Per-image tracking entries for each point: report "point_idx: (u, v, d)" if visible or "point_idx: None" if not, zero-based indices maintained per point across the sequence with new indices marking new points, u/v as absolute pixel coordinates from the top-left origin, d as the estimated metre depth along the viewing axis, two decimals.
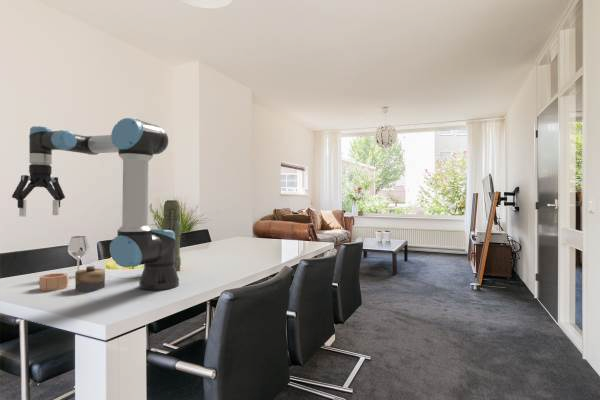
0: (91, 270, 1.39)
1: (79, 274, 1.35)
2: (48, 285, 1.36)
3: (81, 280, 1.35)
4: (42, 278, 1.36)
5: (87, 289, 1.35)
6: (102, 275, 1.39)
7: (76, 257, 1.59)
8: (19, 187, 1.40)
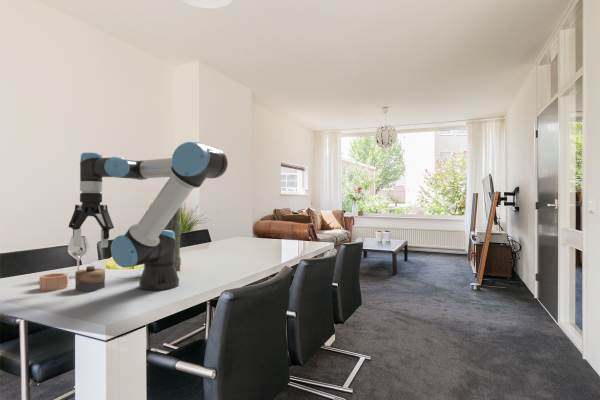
0: (91, 270, 1.39)
1: (79, 274, 1.35)
2: (48, 285, 1.36)
3: (81, 280, 1.35)
4: (42, 278, 1.36)
5: (87, 289, 1.35)
6: (102, 275, 1.39)
7: (76, 257, 1.59)
8: None
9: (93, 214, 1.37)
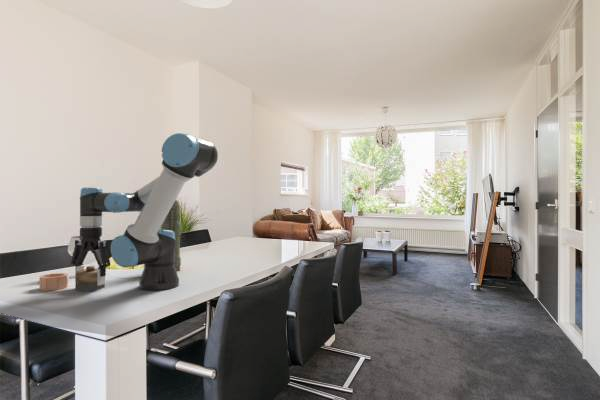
0: (91, 270, 1.39)
1: (79, 274, 1.35)
2: (48, 285, 1.36)
3: (81, 280, 1.35)
4: (42, 278, 1.36)
5: (87, 289, 1.35)
6: None
7: None
8: None
9: (92, 250, 1.37)
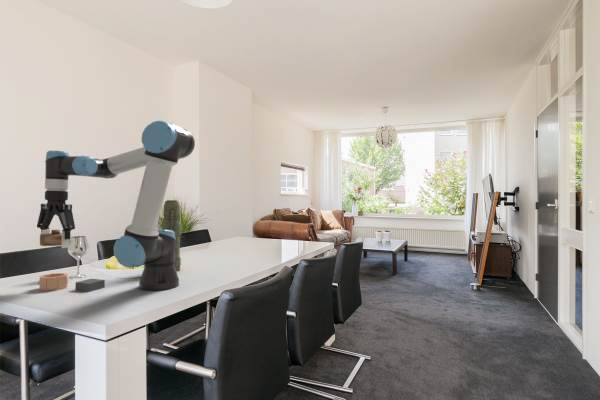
0: (56, 233, 1.39)
1: (43, 236, 1.35)
2: (48, 285, 1.36)
3: (45, 242, 1.35)
4: (42, 278, 1.36)
5: (87, 289, 1.35)
6: None
7: (76, 257, 1.59)
8: None
9: (57, 213, 1.38)
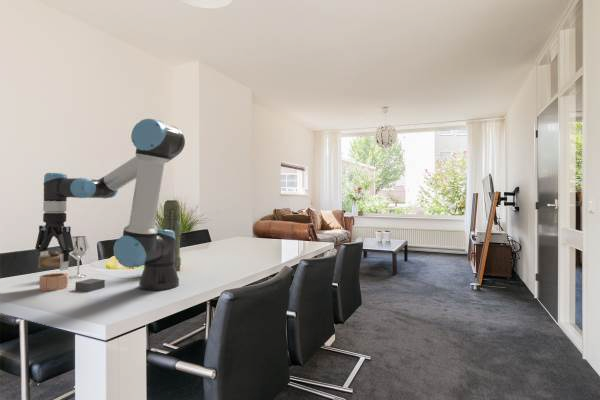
0: (54, 255, 1.39)
1: (42, 259, 1.35)
2: (48, 285, 1.36)
3: (44, 265, 1.35)
4: (42, 278, 1.36)
5: (87, 289, 1.35)
6: None
7: (76, 257, 1.59)
8: None
9: (55, 235, 1.38)
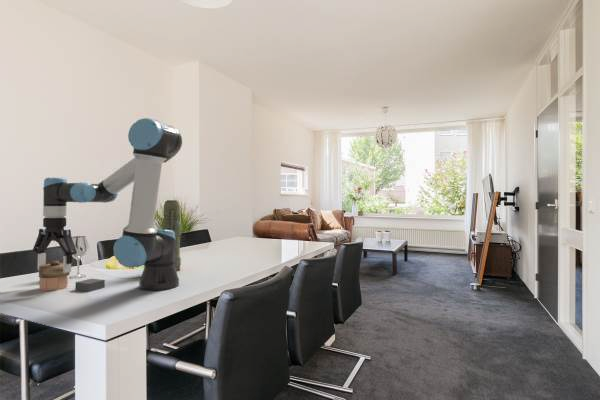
0: (55, 264, 1.39)
1: (42, 268, 1.35)
2: (48, 285, 1.36)
3: (44, 274, 1.35)
4: (42, 278, 1.36)
5: (87, 289, 1.35)
6: None
7: (76, 257, 1.59)
8: None
9: (56, 239, 1.38)
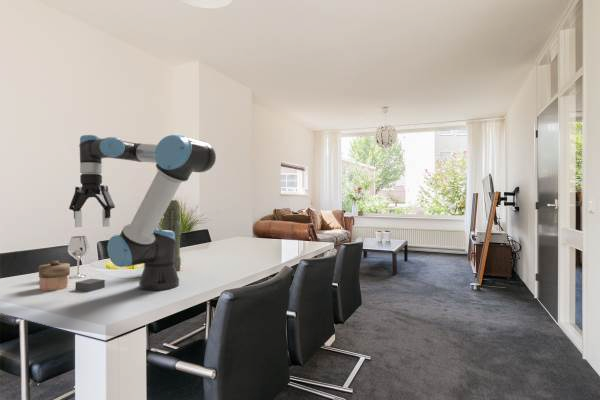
0: (55, 264, 1.39)
1: (42, 268, 1.35)
2: (48, 285, 1.36)
3: (44, 274, 1.35)
4: (42, 278, 1.36)
5: (87, 289, 1.35)
6: (66, 269, 1.40)
7: (76, 257, 1.59)
8: None
9: (94, 194, 1.41)
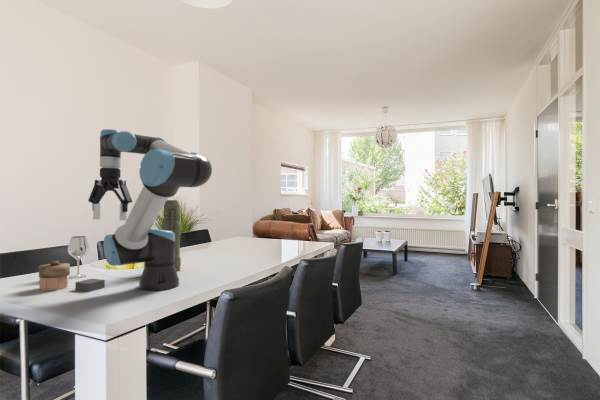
0: (55, 264, 1.39)
1: (42, 268, 1.35)
2: (48, 285, 1.36)
3: (44, 274, 1.35)
4: (42, 278, 1.36)
5: (87, 289, 1.35)
6: (66, 269, 1.40)
7: (76, 257, 1.59)
8: None
9: (112, 188, 1.43)
